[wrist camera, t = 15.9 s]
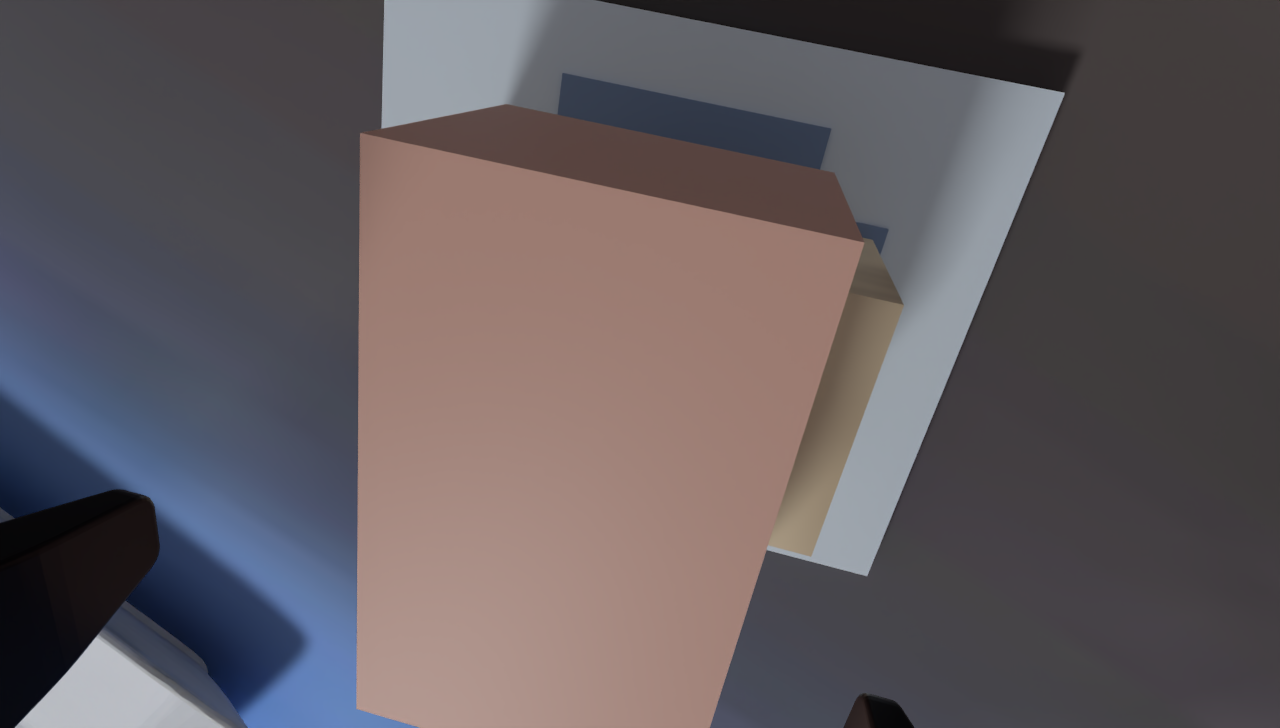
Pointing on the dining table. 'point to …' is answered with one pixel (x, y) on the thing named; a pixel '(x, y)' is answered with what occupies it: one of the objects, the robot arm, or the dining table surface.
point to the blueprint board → (783, 131)
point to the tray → (134, 682)
